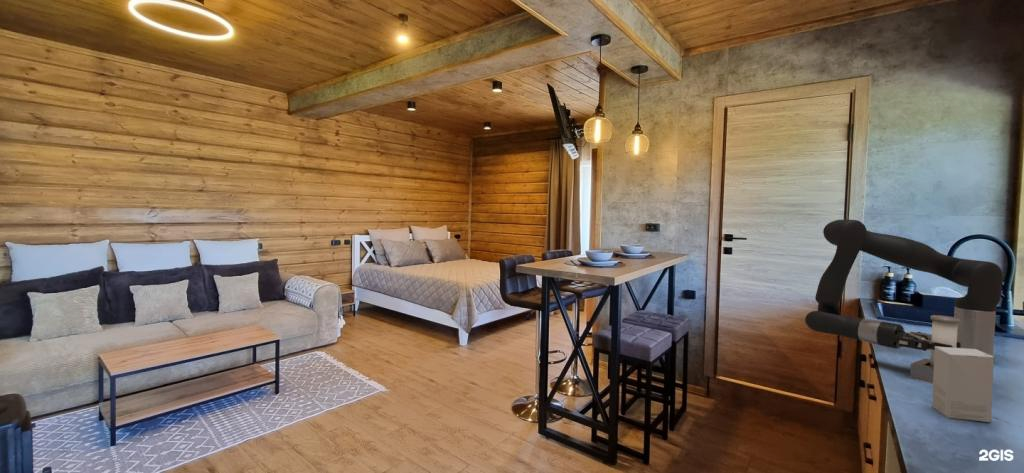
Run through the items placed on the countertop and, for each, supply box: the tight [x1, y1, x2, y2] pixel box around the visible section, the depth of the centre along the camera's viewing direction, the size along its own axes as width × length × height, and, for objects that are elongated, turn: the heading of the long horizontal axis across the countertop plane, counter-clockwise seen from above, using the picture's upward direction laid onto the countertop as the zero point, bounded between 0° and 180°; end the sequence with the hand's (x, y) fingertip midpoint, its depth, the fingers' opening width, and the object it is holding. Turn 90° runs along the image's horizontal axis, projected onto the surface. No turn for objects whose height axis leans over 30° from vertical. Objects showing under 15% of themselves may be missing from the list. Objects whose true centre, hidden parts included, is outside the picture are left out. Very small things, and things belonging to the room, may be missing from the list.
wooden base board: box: [908, 357, 934, 385], centre depth 123 cm, size 23×11×5 cm, turn 119°
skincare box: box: [931, 346, 996, 423], centre depth 101 cm, size 8×7×16 cm
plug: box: [929, 314, 960, 367], centre depth 120 cm, size 6×6×18 cm
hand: (955, 348), depth 118 cm, fingers open, 5 cm apart
